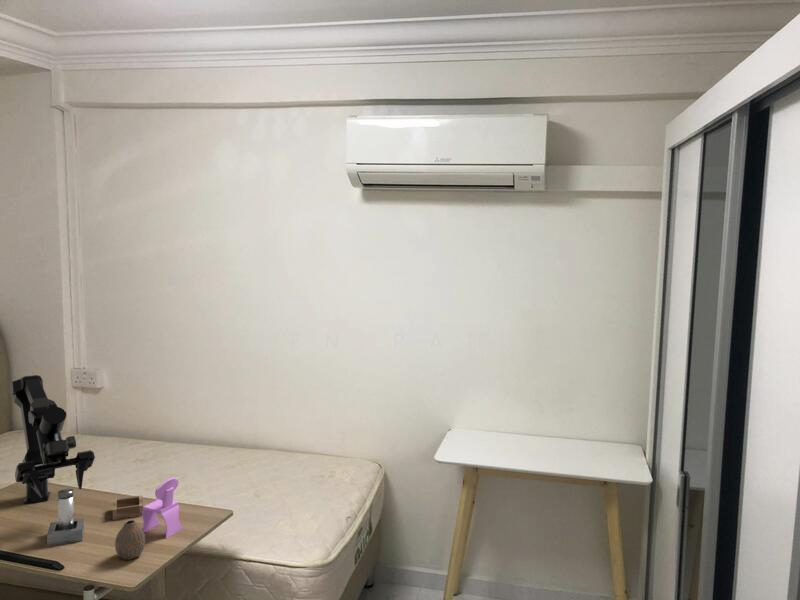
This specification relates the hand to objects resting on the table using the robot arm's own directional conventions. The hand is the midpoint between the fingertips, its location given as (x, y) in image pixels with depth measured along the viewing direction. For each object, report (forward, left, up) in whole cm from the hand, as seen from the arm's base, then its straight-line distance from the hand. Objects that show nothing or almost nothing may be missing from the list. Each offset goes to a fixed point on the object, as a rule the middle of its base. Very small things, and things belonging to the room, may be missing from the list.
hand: (61, 492), depth 162 cm
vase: (+21, +17, -11) cm, 29 cm away
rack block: (-7, +16, -11) cm, 21 cm away
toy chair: (+9, +25, -11) cm, 29 cm away
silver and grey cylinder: (+4, +1, -11) cm, 12 cm away
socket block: (+4, +1, -11) cm, 12 cm away
